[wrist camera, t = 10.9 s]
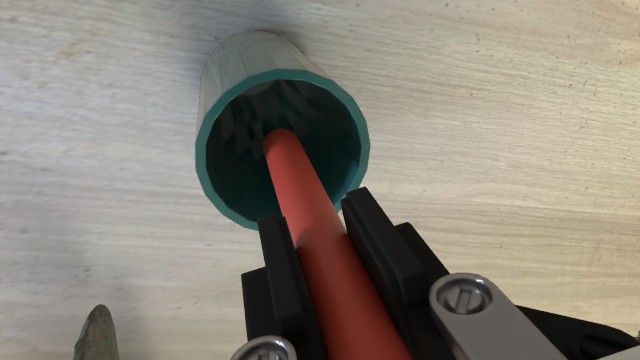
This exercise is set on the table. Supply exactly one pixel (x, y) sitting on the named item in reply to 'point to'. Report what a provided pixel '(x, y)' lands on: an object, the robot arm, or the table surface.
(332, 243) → the straw
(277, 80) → the can
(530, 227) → the table surface
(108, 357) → the axe head
